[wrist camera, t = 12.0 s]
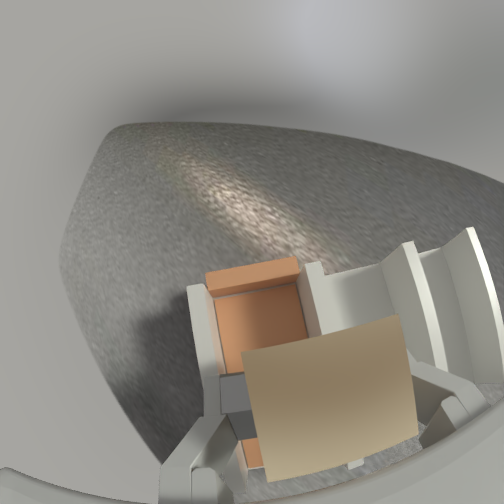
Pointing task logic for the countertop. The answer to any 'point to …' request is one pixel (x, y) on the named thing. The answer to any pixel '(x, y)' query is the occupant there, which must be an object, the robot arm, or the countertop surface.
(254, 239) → the countertop surface
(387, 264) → the rack
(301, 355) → the block
